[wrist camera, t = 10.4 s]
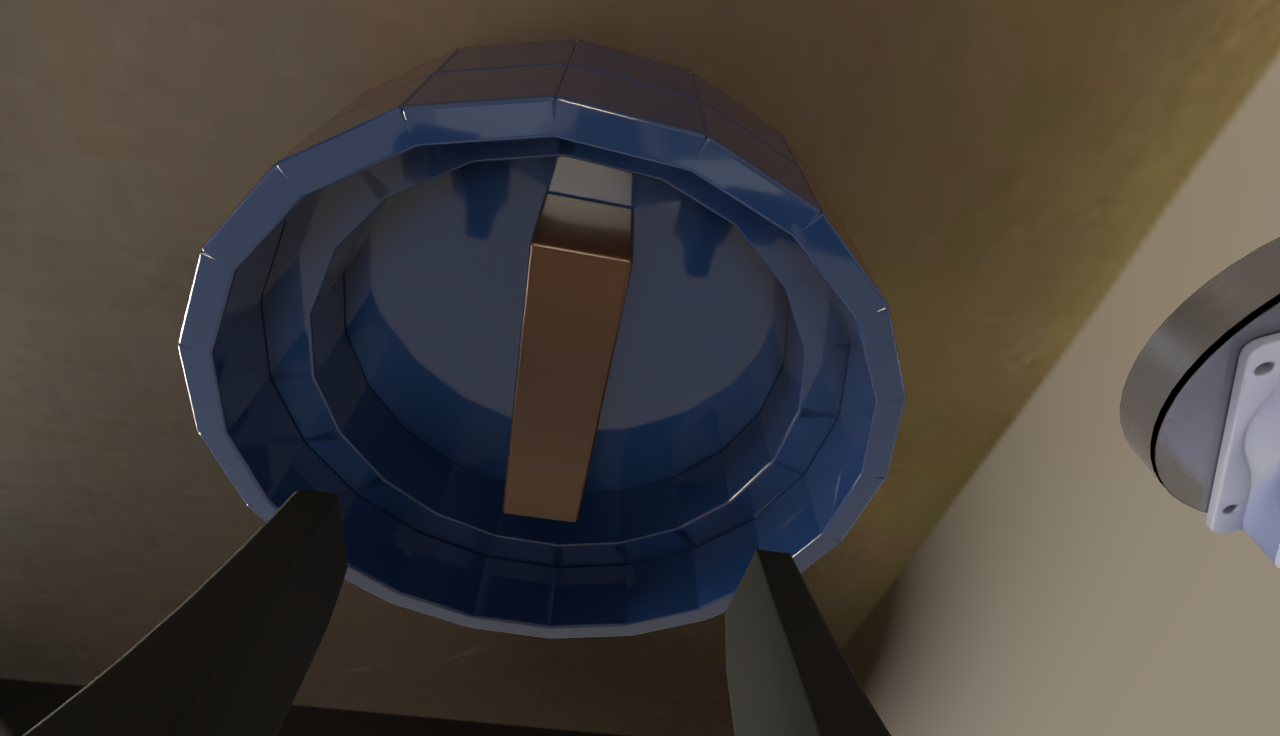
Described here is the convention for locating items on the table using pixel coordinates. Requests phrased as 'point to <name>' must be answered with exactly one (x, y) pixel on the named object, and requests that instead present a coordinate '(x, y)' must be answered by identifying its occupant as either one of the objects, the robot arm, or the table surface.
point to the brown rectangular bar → (565, 352)
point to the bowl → (490, 334)
